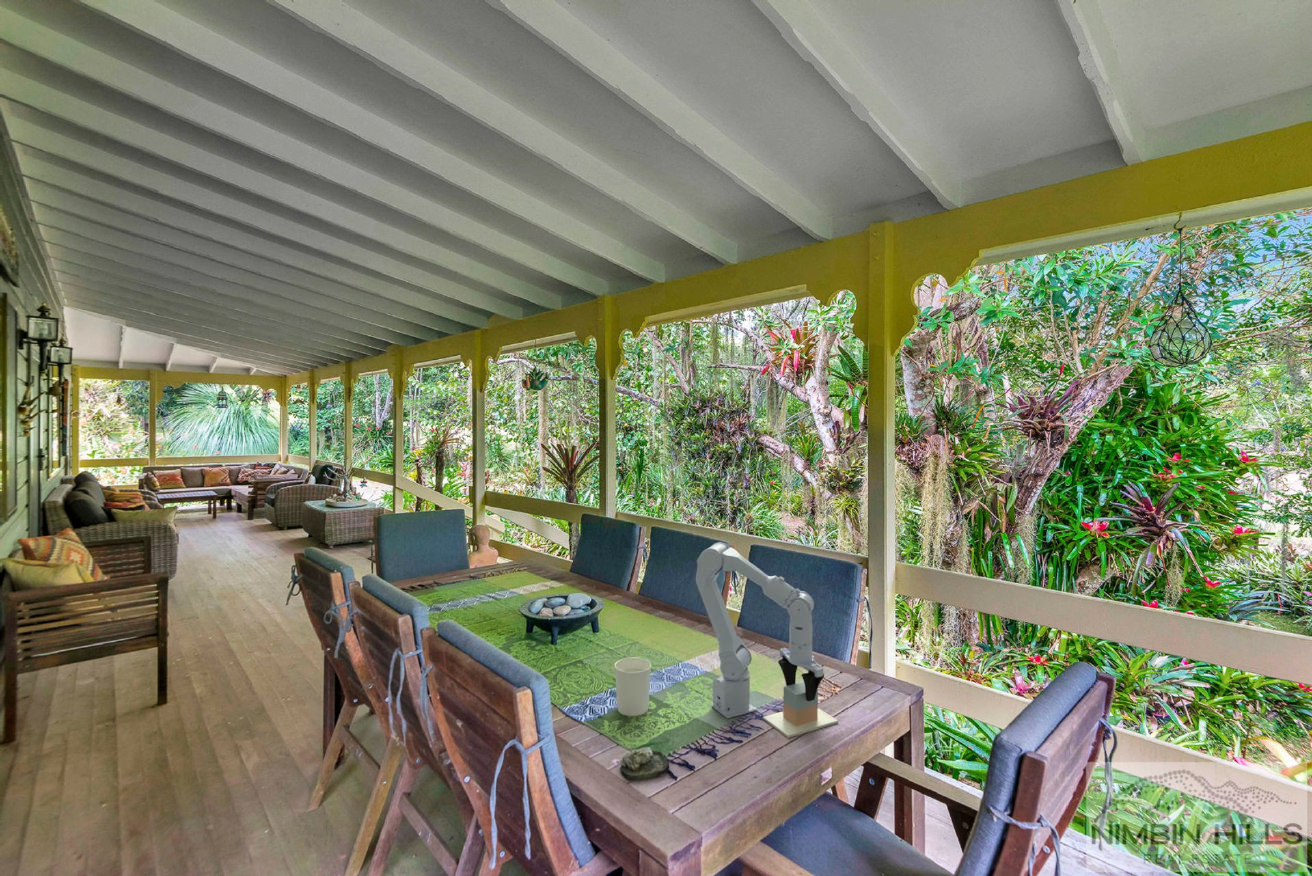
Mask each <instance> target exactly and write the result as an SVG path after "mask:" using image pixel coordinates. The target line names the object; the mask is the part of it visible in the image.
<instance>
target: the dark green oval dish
mask: <svg viewBox="0 0 1312 876" xmlns="http://www.w3.org/2000/svg"><path fill="white" fill-rule="evenodd" d="M619 764H620V767H619V769H620V773H621V775H622V776H623V778H624V779H626V781H628V782H641V781H648V780H652V779H657V778H661V777H662V776H664V775H665V774H666V773H668V772H669V770H670V762H669V761H668V759H667V758H666V757H665V756H664V755H663V753H662V752H661V751H658V750H653V749H652V748H651V747H649V746H645V747H641V748H640V749H633V750H632V751H631V752H630V753H629V752H627V753H626V754H624V755H622V756H621V758H620V760H619Z"/></svg>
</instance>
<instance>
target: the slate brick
mask: <svg viewBox="0 0 1312 876" xmlns="http://www.w3.org/2000/svg"><path fill="white" fill-rule="evenodd" d="M782 698H783V699H782V702H784V703H786V704H787V705H789V706H790V707H791V708H793V709H794V710H796V711H797V710H801V709H804V708H808V707H811V706H815V705H818V706H819V704H818V703H819V689H817V692H816V695H815V699H814V700H812V701H807V700H806V693H805V684H804V681H800V682H797V683H795V684H793V685H789V686H786V685H785V686H783V697H782Z"/></svg>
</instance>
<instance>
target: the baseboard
mask: <svg viewBox="0 0 1312 876" xmlns="http://www.w3.org/2000/svg"><path fill="white" fill-rule="evenodd" d="M762 720H763V721H765V722H766V723H768V724H769V725H770V726H772V728H774V729H775V730H777V731H778V732H780V733H781V734H782V735H783V736H785V737H786V738H788V739H790V738H793V737H797V736H798V735H802V734H807V733H809V732H812V731H815V730H818V729H823V728H826V727H829V726H832V725H836V724H838V723H839V720H838V719H837V718H835V717H833V716H832V715H830V714H828V713H827V712H825V711H824V710H822V709H821V708H819V707H818V720H816V721H813V722H809V723H806V724H803V725H799V726H795V725H793V724H792V723H790V722H789V721H788V720H786V719H785V718H783V711H780V712H776V713H772V714H769V715H765V716H762Z"/></svg>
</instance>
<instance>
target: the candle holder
mask: <svg viewBox="0 0 1312 876" xmlns="http://www.w3.org/2000/svg"><path fill="white" fill-rule="evenodd" d="M651 669H652V663H651V661H650V660H648V659H646V658H643V657H635V656H634V657H625V658H621V659H619V660H617V661H616V662H615V663H614V676H615V677H614V678H615V693H616V706H617V707H616V708H617V711H618V713H620V714H621V715H622V716H627V717H638V716H641V715H643V714H646V713H647V712H648V710H649V706H650V705H649V704H650V688H651V687H650V686H651V673H652V672H651Z"/></svg>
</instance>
